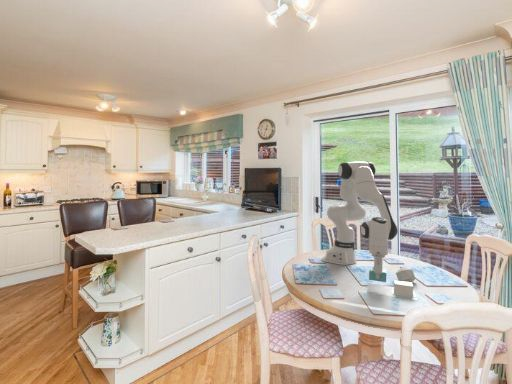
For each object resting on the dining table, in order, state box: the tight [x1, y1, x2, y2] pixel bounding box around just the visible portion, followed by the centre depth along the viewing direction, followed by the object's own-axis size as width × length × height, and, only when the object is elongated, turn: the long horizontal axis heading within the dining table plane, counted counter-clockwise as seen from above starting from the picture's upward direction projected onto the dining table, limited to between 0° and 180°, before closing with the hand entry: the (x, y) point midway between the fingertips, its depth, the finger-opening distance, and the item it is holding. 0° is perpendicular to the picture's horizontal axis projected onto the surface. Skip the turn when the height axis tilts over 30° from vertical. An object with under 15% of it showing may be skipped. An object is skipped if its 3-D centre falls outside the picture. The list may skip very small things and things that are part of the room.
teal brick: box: [368, 266, 387, 283], centre depth 140 cm, size 8×5×5 cm, turn 66°
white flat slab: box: [366, 282, 418, 301], centre depth 138 cm, size 22×13×1 cm, turn 66°
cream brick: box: [393, 279, 414, 296], centre depth 135 cm, size 8×5×5 cm, turn 66°
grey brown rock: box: [395, 266, 416, 283], centre depth 150 cm, size 8×9×10 cm
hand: (377, 275), depth 140 cm, fingers closed on teal brick, 5 cm apart
